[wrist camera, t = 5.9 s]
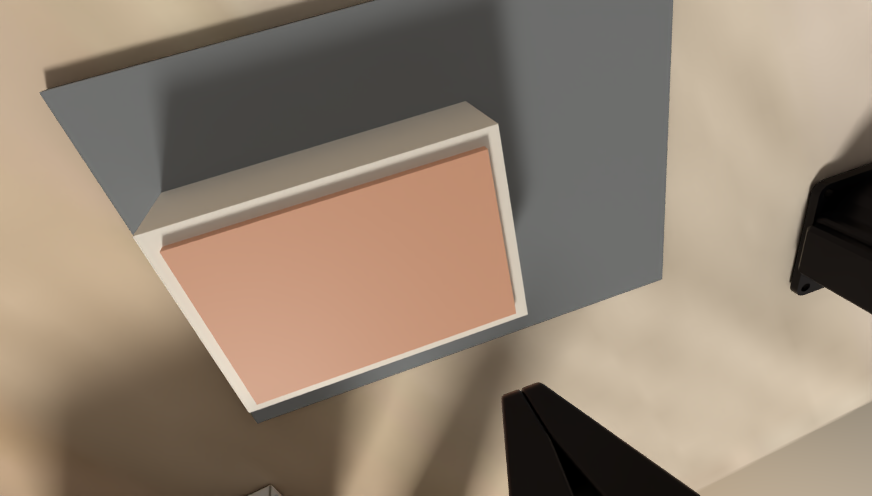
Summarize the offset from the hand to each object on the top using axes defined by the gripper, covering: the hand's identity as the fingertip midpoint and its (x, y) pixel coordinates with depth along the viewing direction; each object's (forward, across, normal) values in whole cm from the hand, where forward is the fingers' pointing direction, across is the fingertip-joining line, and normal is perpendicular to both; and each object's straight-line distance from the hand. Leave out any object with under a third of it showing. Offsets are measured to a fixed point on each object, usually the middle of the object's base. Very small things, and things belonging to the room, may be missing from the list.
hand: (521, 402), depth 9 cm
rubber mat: (+10, 0, 0) cm, 10 cm away
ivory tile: (+8, -2, 0) cm, 8 cm away
